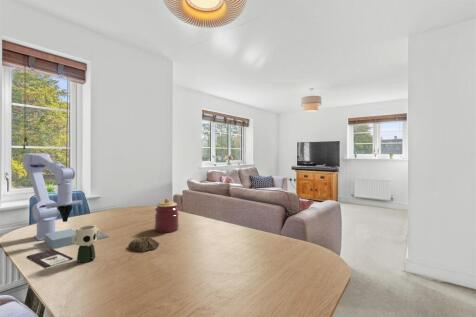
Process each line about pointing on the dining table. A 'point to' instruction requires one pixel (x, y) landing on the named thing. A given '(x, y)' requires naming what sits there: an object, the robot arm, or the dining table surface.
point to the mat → (102, 236)
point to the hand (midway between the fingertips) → (64, 221)
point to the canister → (166, 216)
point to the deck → (59, 238)
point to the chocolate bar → (49, 258)
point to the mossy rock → (143, 244)
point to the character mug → (85, 242)
